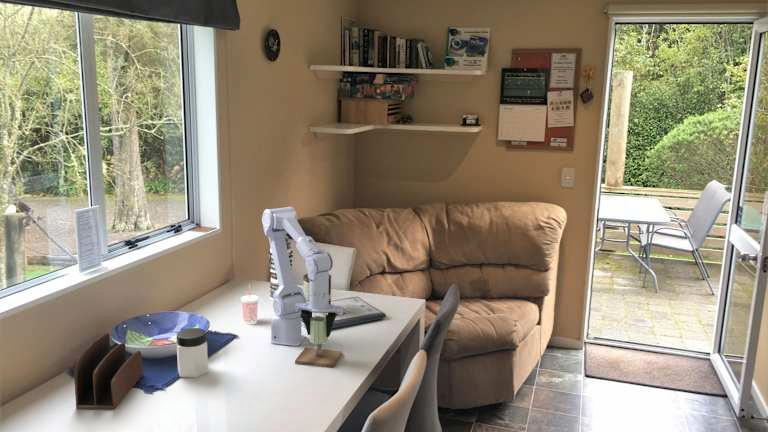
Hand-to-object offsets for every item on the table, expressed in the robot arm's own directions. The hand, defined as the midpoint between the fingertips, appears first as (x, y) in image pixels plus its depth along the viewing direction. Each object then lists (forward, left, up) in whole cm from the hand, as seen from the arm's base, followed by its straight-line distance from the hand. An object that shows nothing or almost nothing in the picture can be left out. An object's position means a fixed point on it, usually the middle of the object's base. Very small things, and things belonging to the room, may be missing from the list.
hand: (319, 334), depth 189 cm
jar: (-33, -17, -8) cm, 38 cm away
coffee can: (-12, +38, -8) cm, 41 cm away
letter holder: (-49, -32, -8) cm, 59 cm away
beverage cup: (-32, +23, -8) cm, 40 cm away
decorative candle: (-30, +49, -8) cm, 58 cm away
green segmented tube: (0, 0, -2) cm, 2 cm away
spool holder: (0, 0, -8) cm, 8 cm away
